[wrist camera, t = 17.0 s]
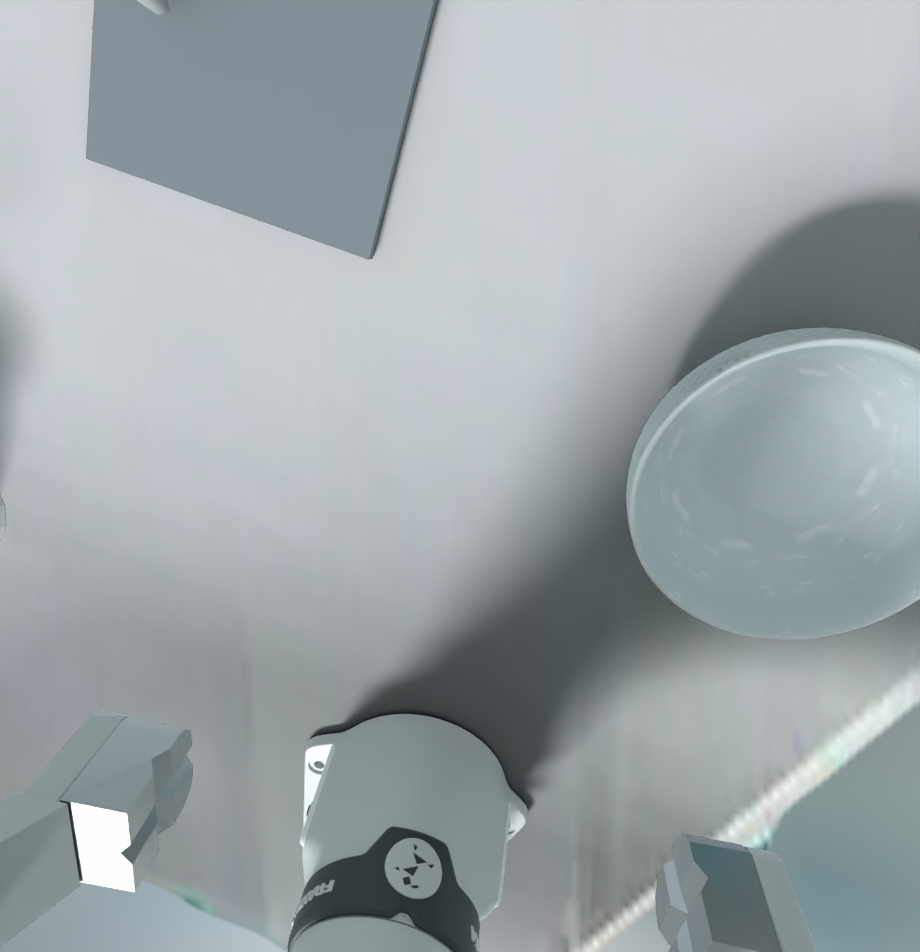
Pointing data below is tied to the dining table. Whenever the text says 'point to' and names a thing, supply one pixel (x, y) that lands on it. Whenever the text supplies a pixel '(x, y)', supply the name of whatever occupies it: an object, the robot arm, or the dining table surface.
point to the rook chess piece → (156, 5)
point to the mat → (261, 105)
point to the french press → (2, 517)
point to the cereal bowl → (785, 485)
